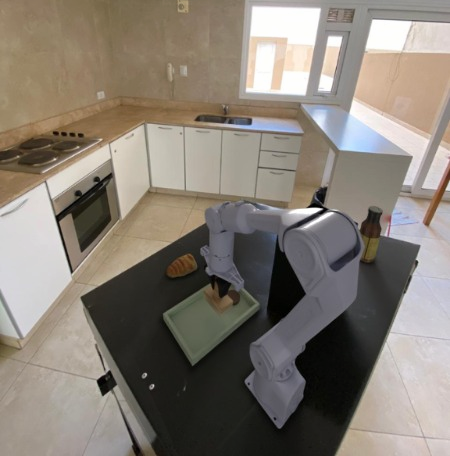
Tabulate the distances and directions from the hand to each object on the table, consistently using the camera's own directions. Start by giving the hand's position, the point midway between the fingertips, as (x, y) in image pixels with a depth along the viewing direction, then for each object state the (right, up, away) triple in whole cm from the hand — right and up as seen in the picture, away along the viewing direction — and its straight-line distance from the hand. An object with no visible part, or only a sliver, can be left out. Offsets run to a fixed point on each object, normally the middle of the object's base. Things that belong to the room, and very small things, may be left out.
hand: (219, 291), depth 64 cm
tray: (-2, -8, +3) cm, 9 cm away
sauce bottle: (+50, -2, +25) cm, 56 cm away
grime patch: (+3, -6, +7) cm, 10 cm away
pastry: (-12, -2, +17) cm, 21 cm away
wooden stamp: (-1, -4, +1) cm, 4 cm away
